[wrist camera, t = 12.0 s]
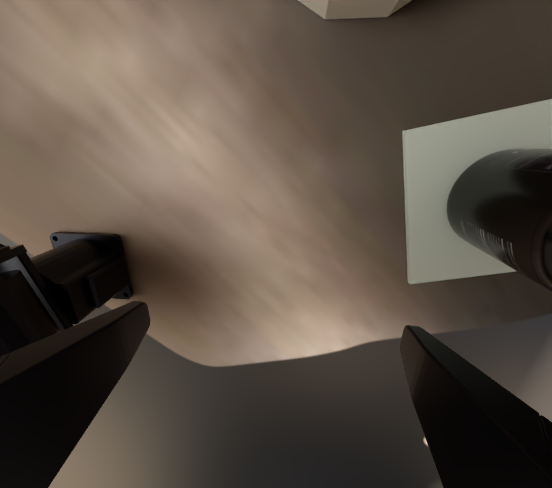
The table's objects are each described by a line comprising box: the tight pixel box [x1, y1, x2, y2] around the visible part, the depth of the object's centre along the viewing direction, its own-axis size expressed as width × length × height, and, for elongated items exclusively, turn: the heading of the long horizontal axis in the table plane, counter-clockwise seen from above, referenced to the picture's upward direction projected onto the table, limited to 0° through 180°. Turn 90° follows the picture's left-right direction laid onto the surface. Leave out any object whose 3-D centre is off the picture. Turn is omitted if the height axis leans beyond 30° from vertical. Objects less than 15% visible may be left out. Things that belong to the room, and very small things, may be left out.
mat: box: [402, 99, 552, 284], centre depth 19 cm, size 12×12×1 cm
